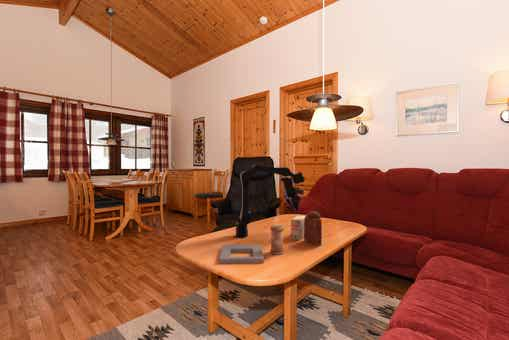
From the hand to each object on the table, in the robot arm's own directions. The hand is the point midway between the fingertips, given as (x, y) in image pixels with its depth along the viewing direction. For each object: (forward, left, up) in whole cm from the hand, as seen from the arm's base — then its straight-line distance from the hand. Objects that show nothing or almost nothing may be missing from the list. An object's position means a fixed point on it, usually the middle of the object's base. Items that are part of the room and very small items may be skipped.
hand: (294, 210), depth 160 cm
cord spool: (+2, -36, -15) cm, 39 cm away
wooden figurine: (+15, -11, -16) cm, 24 cm away
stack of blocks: (+5, 0, -16) cm, 17 cm away
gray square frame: (-11, -48, -15) cm, 52 cm away
